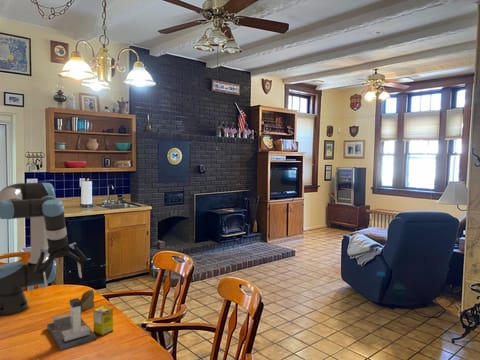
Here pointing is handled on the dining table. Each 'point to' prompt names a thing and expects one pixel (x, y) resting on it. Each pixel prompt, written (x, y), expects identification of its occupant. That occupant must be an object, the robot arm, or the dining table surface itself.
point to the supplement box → (103, 320)
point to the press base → (62, 325)
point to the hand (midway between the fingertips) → (63, 281)
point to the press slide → (75, 323)
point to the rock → (87, 300)
